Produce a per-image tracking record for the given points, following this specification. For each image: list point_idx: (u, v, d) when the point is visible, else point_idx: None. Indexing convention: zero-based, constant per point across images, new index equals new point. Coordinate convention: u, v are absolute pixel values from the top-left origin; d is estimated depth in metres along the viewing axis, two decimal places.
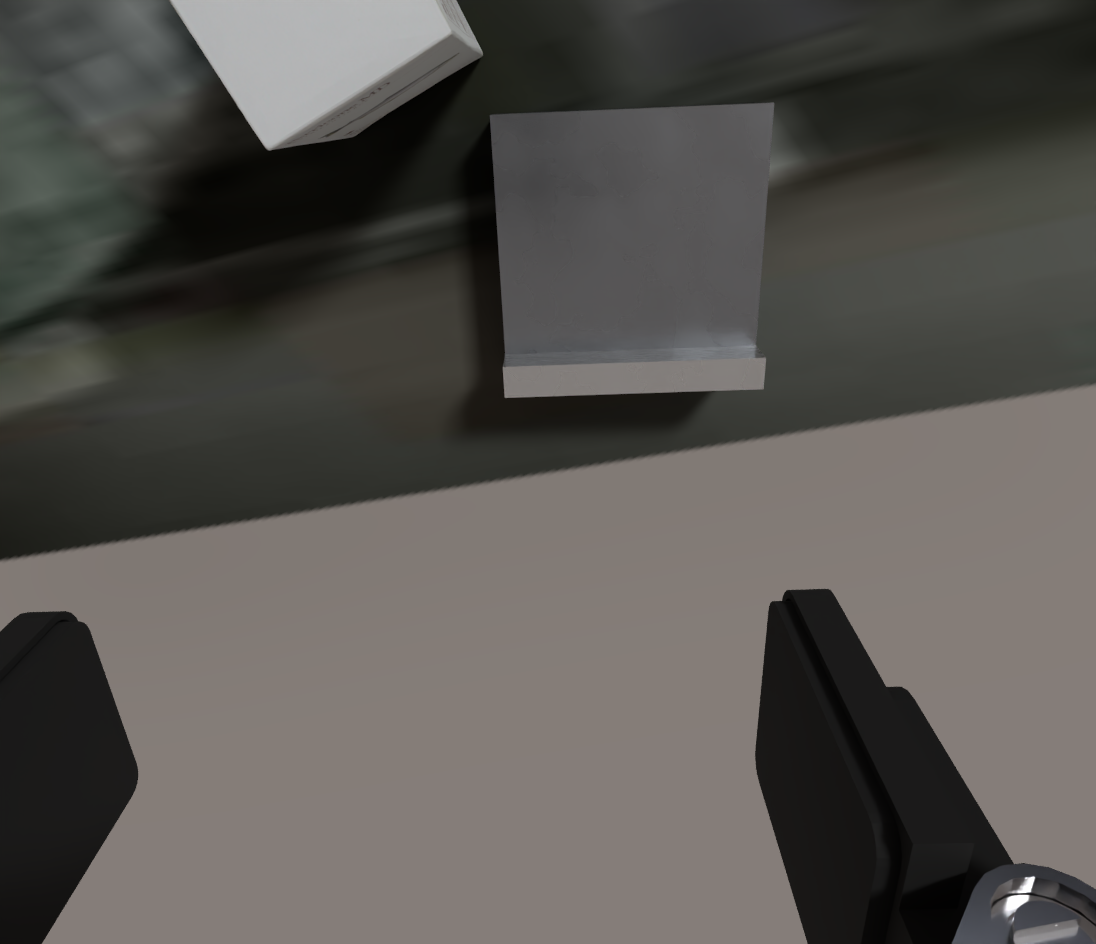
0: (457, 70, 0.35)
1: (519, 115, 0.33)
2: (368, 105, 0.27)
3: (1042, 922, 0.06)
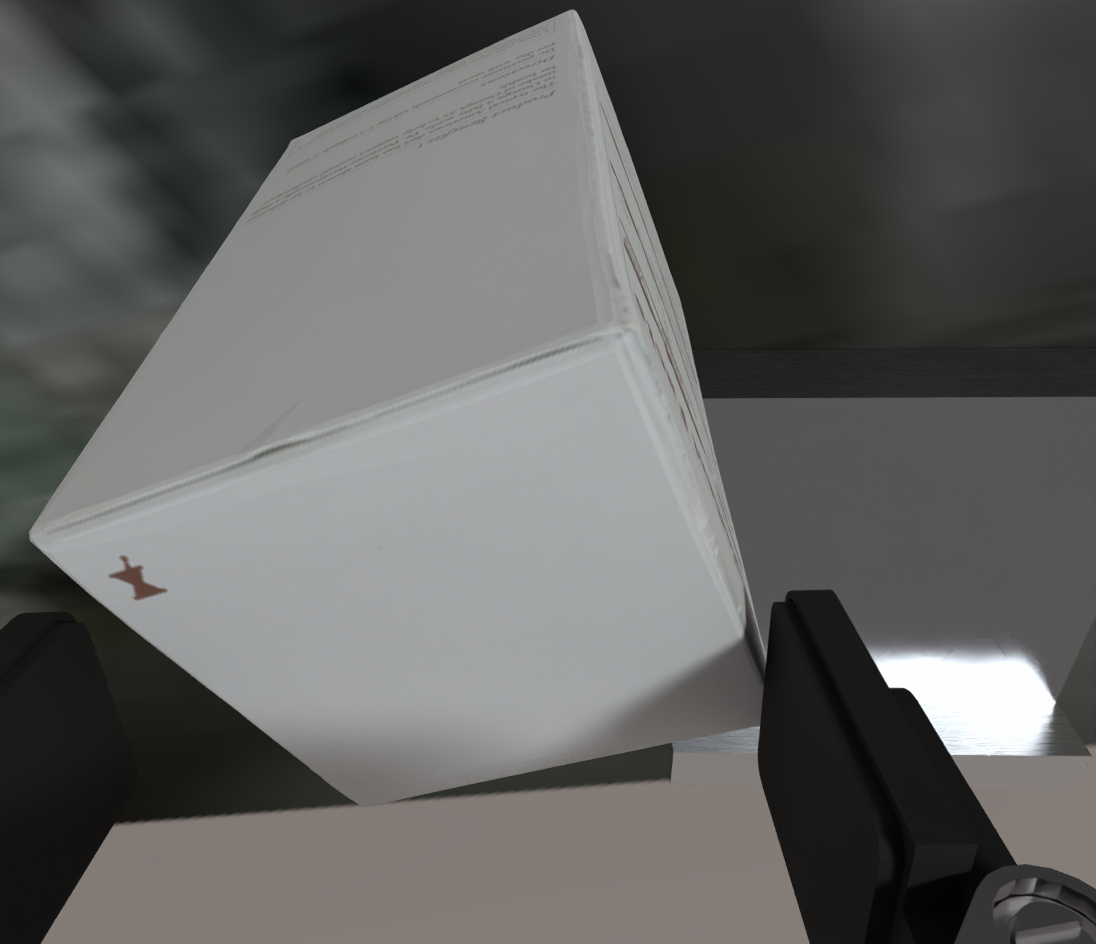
0: None
1: (744, 401, 0.19)
2: None
3: (1044, 923, 0.06)
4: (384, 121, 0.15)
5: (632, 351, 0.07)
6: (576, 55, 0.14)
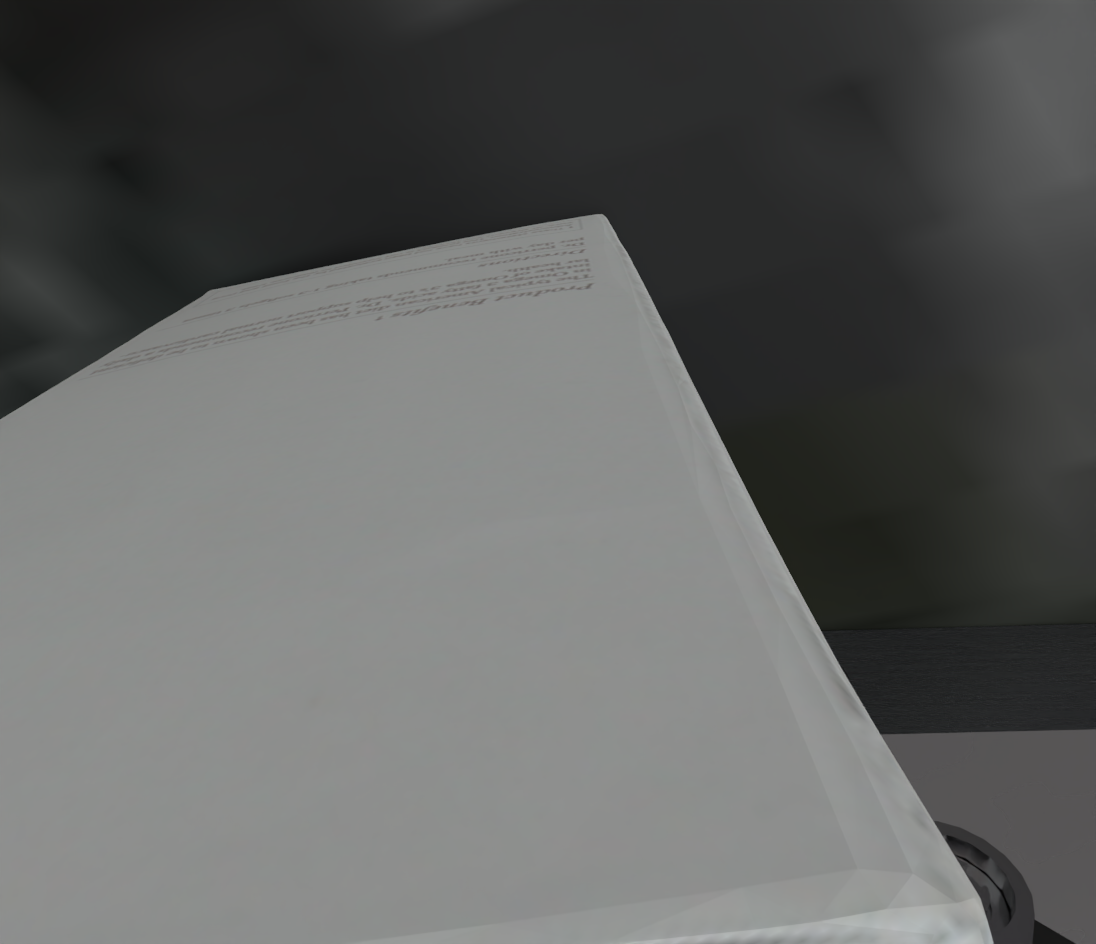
0: None
1: None
2: None
3: None
4: (336, 285, 0.11)
5: None
6: (617, 253, 0.10)
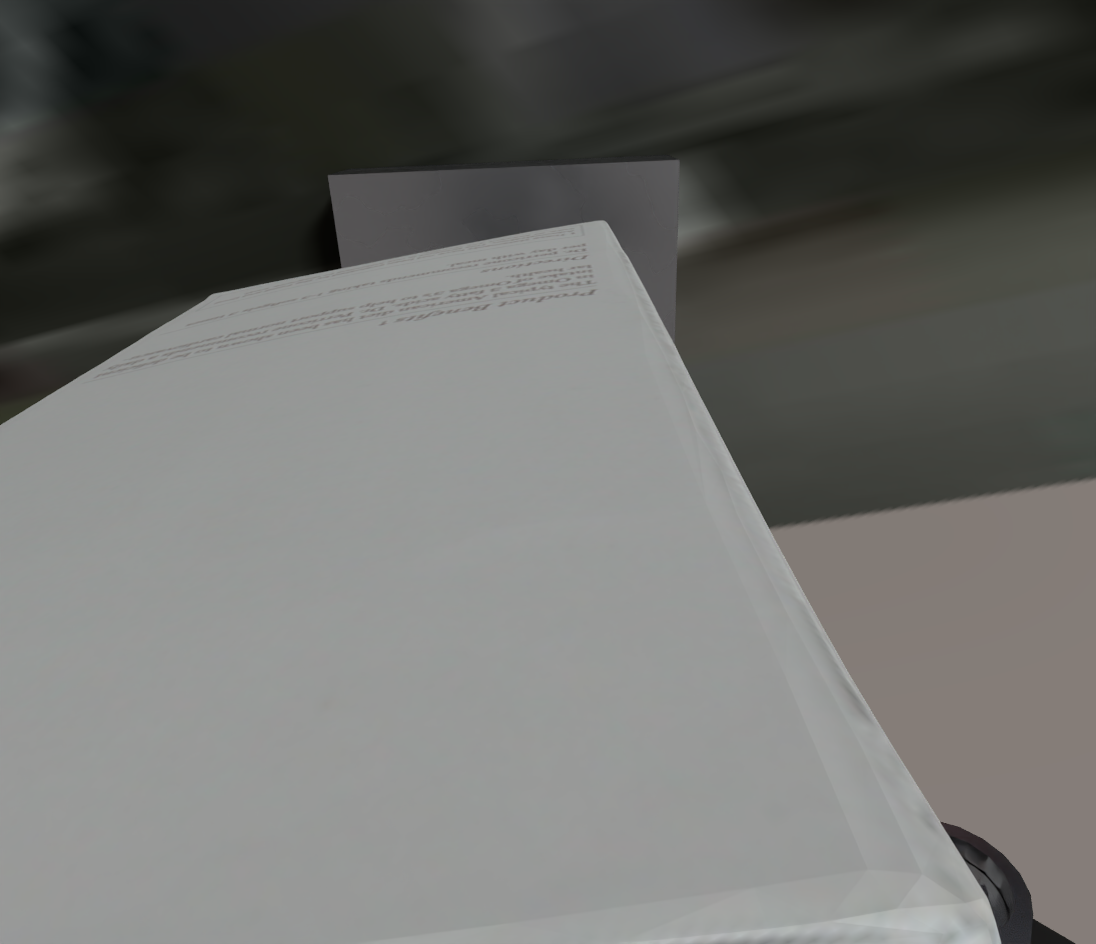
0: None
1: (364, 175, 0.27)
2: None
3: None
4: (339, 290, 0.11)
5: None
6: (620, 259, 0.10)
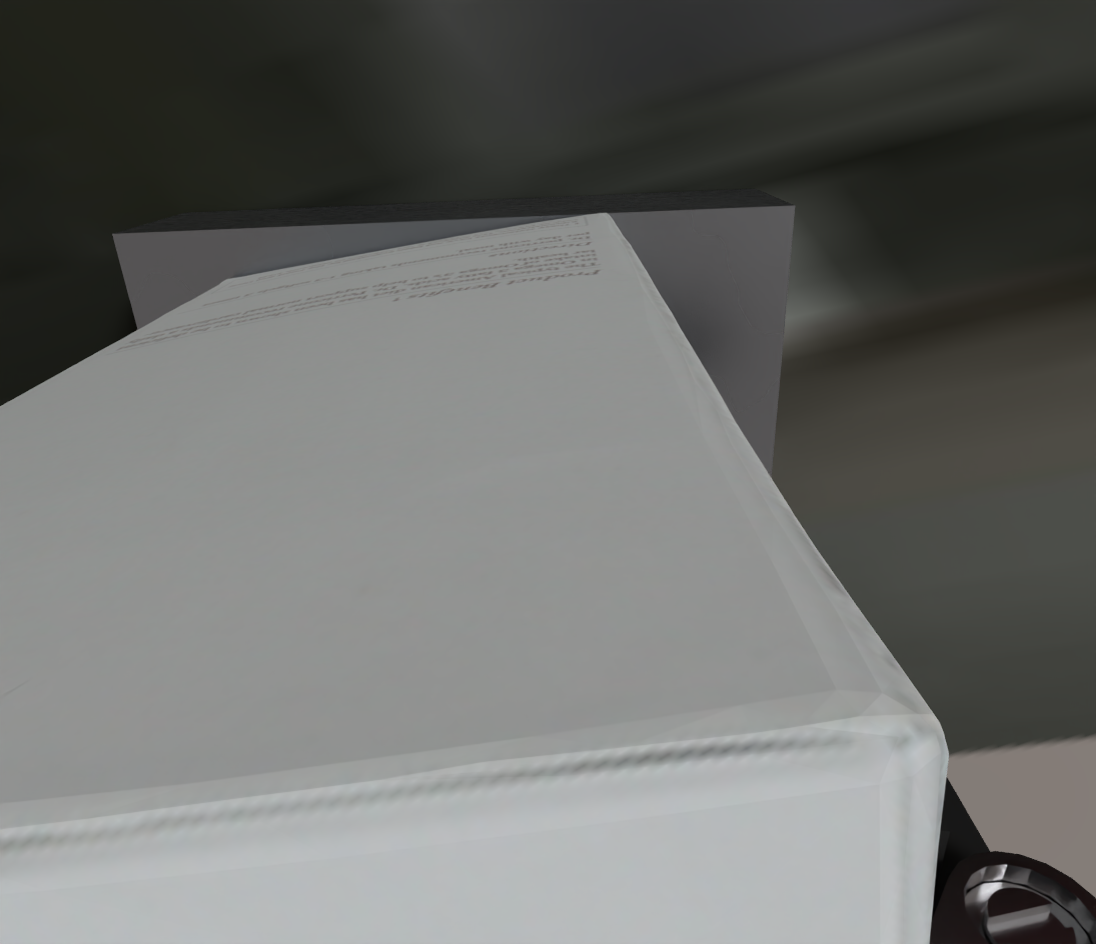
0: None
1: (183, 235, 0.14)
2: None
3: (1015, 908, 0.06)
4: (351, 273, 0.12)
5: (922, 790, 0.03)
6: (622, 245, 0.10)
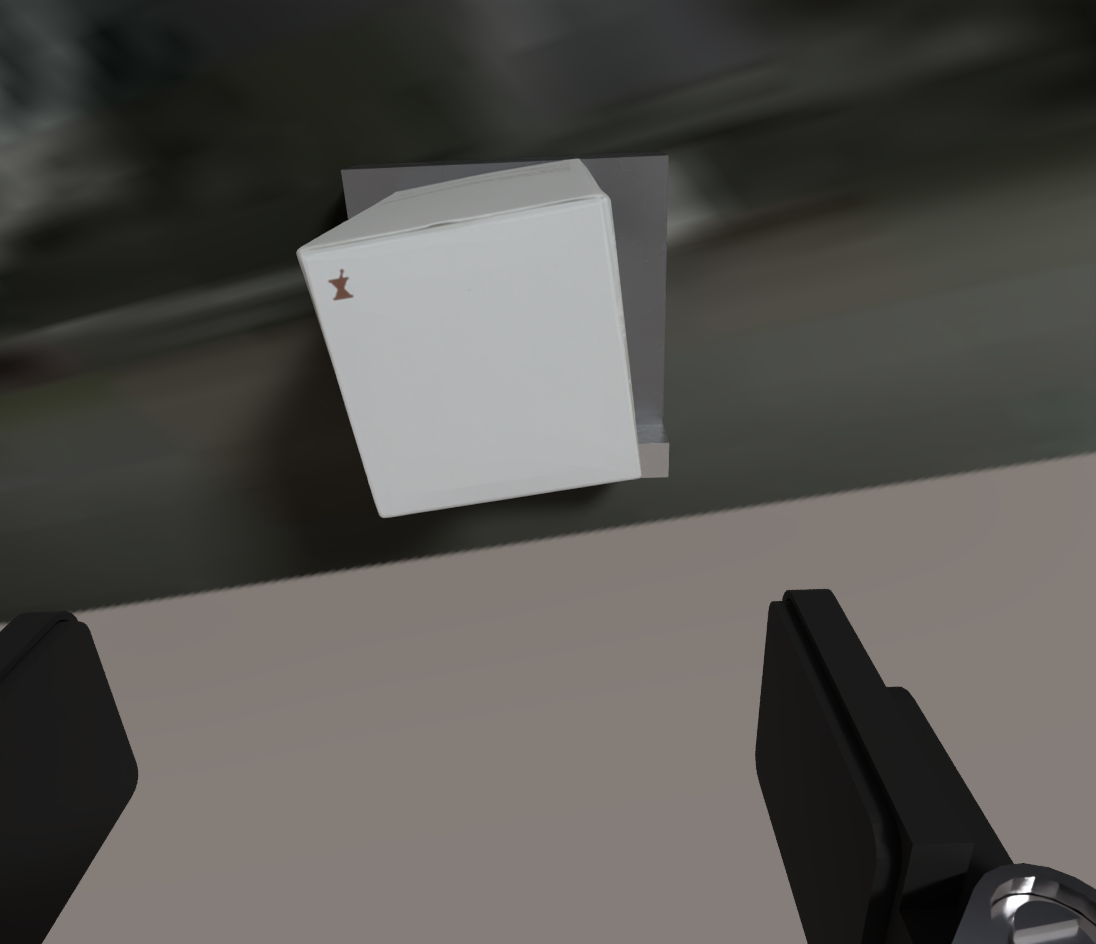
0: None
1: (375, 170, 0.29)
2: None
3: (1042, 922, 0.06)
4: (465, 180, 0.26)
5: (606, 206, 0.18)
6: (581, 165, 0.25)
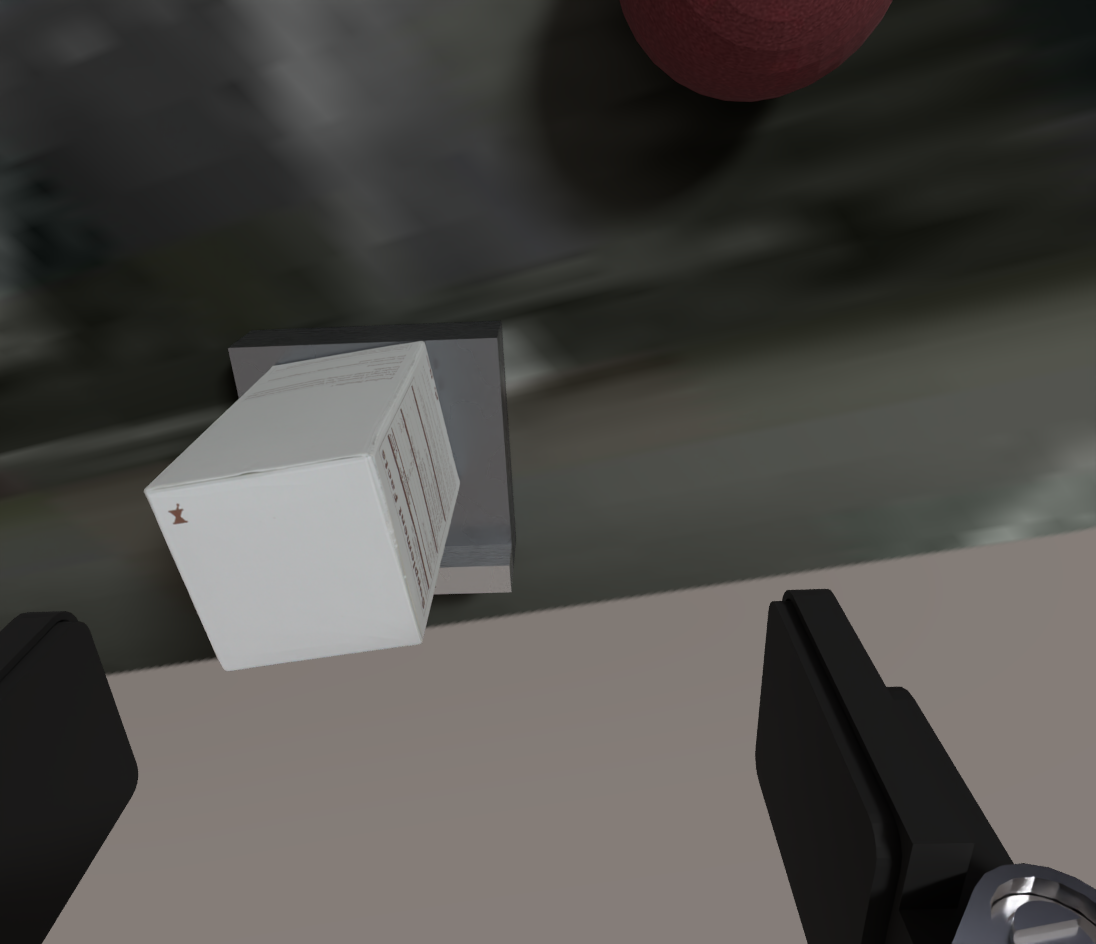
0: None
1: (256, 348, 0.35)
2: None
3: (1042, 922, 0.06)
4: (321, 370, 0.33)
5: (370, 462, 0.24)
6: (409, 364, 0.31)
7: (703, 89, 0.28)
